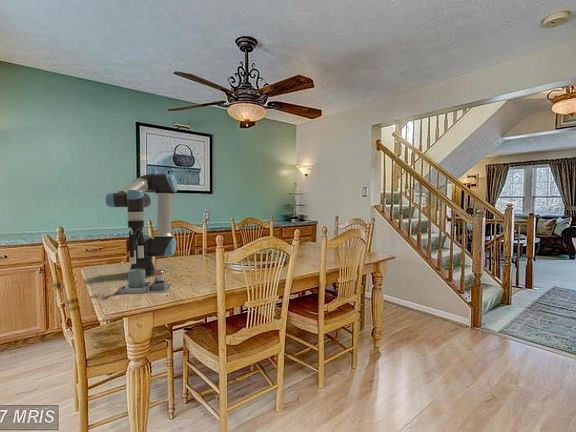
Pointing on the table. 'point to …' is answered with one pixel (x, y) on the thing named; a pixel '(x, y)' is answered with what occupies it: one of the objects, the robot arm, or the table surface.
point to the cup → (136, 278)
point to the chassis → (145, 288)
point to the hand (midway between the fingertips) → (136, 260)
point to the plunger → (159, 276)
